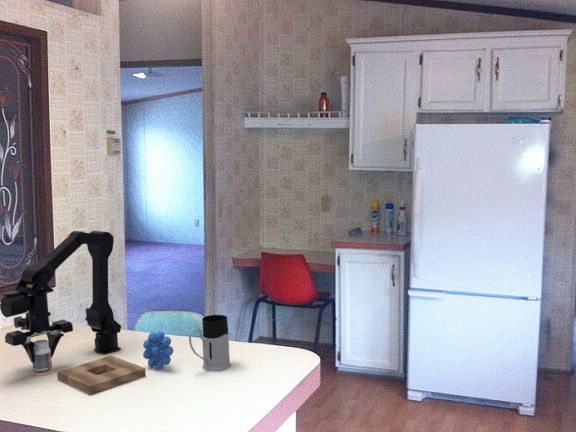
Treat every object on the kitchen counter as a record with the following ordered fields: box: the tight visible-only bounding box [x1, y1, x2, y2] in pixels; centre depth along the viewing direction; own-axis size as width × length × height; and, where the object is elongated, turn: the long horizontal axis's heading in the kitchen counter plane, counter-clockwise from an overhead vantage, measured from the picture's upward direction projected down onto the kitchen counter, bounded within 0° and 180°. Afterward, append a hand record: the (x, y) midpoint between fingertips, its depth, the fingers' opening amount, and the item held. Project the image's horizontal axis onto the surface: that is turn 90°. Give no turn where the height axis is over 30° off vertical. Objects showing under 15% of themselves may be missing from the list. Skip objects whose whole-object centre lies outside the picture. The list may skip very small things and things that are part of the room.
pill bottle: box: [32, 339, 53, 377], centre depth 197 cm, size 5×5×10 cm
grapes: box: [142, 330, 174, 370], centre depth 198 cm, size 12×7×12 cm, turn 58°
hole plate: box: [56, 355, 147, 396], centre depth 192 cm, size 18×18×2 cm
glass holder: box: [188, 314, 232, 372], centre depth 196 cm, size 9×14×15 cm, turn 137°
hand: (41, 360), depth 197 cm, fingers closed on pill bottle, 5 cm apart
